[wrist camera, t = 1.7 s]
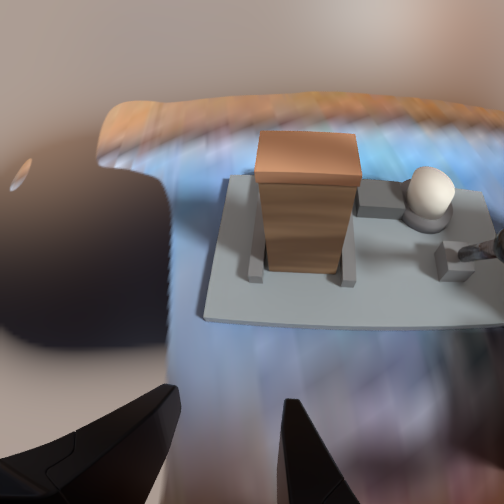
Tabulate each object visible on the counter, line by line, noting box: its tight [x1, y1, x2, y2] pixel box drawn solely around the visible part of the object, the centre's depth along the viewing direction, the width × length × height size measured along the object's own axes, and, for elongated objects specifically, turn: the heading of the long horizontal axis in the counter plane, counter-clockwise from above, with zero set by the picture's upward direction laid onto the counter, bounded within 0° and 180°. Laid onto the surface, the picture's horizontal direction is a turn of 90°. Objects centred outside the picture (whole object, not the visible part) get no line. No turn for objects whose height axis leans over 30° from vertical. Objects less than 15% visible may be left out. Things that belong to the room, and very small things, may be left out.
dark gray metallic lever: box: [457, 228, 504, 263], centre depth 17 cm, size 2×2×8 cm
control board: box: [203, 167, 504, 331], centre depth 24 cm, size 14×26×4 cm, turn 84°
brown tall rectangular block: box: [254, 131, 362, 274], centre depth 20 cm, size 3×5×11 cm, turn 84°
